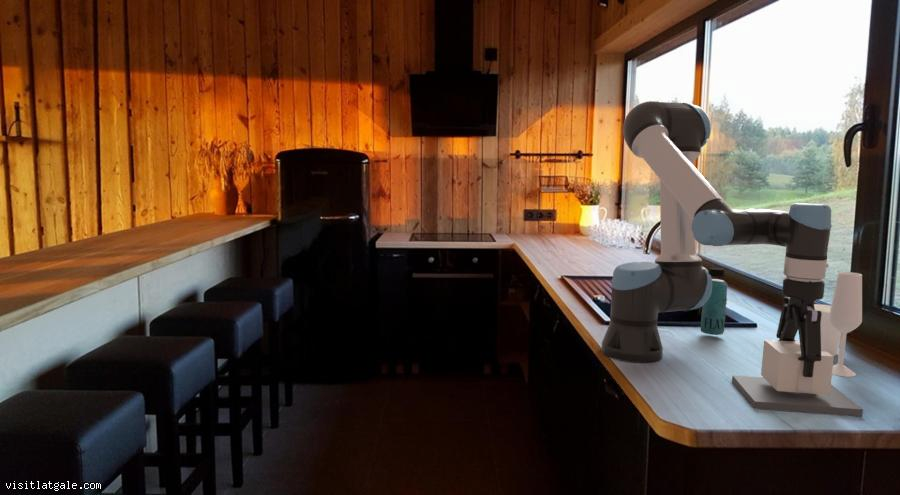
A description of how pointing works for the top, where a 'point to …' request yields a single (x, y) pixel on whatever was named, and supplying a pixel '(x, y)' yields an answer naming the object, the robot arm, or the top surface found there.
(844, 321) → the champagne flute
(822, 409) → the base plate
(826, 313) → the candle holder
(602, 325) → the top surface
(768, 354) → the beige notched hollow block
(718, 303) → the beverage bottle
